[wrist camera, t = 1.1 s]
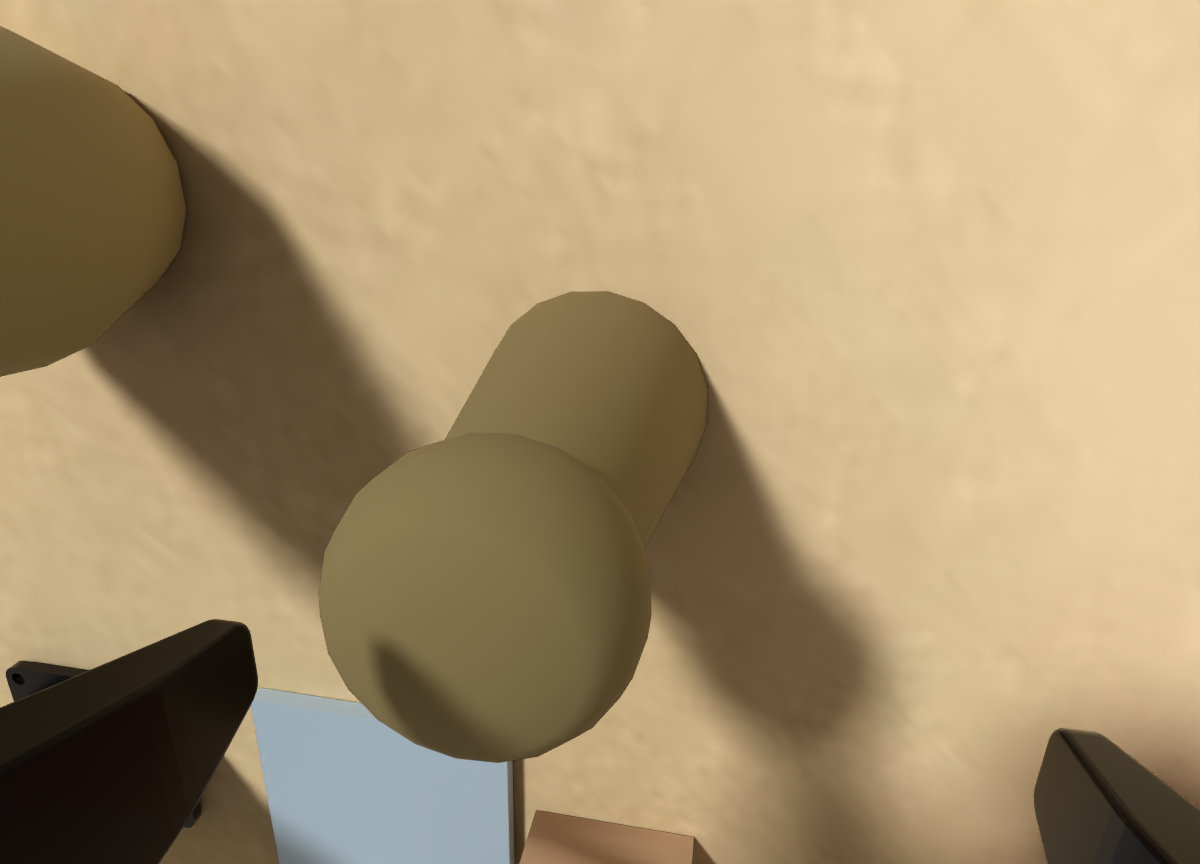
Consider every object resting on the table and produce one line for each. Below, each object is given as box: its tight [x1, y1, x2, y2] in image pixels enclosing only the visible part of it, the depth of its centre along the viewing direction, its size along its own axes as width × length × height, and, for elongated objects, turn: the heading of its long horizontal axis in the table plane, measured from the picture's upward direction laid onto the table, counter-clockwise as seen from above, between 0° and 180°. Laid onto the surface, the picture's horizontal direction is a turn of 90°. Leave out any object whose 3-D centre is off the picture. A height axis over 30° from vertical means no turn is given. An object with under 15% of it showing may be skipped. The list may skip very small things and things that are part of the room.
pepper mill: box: [319, 291, 708, 763], centre depth 16 cm, size 6×6×11 cm
